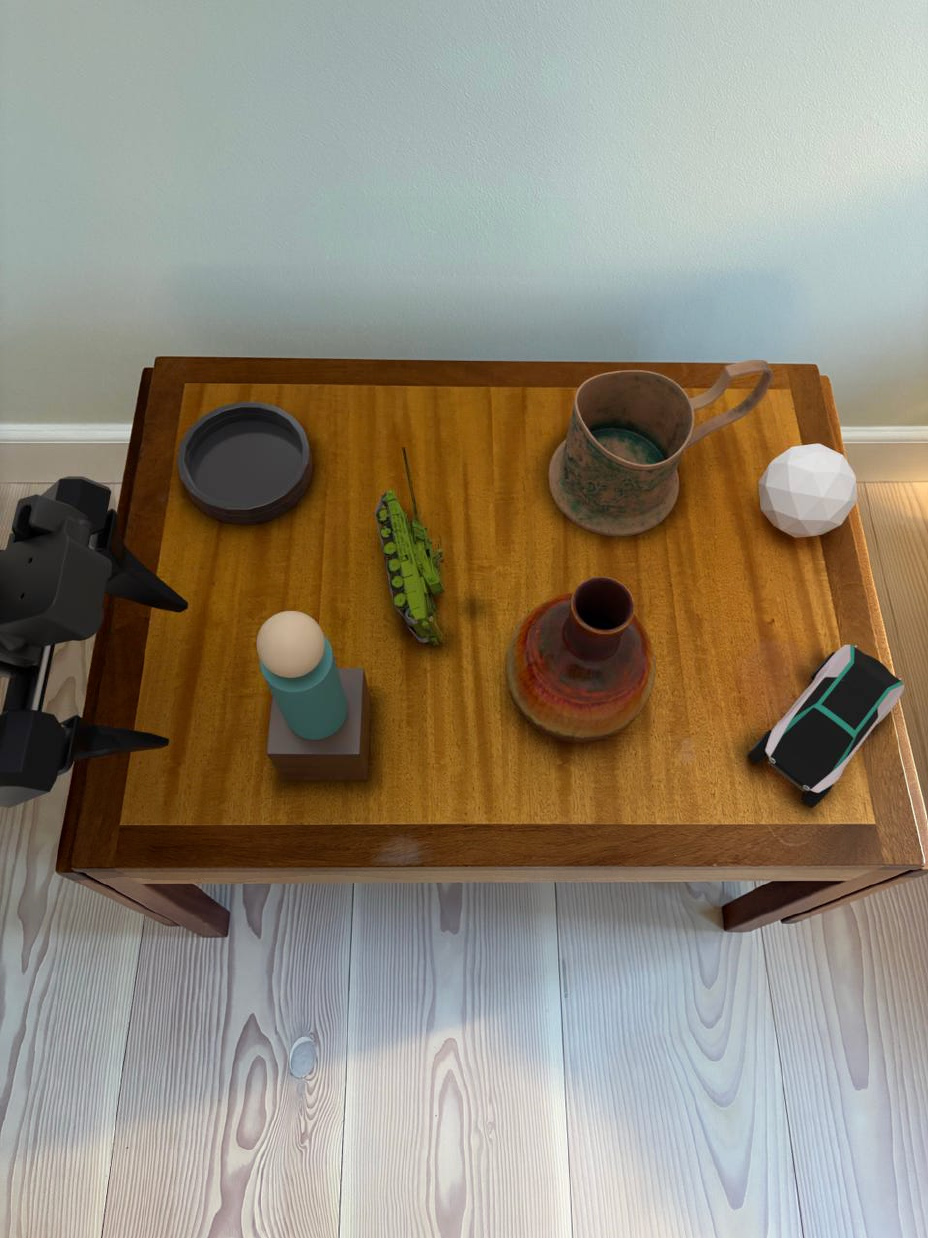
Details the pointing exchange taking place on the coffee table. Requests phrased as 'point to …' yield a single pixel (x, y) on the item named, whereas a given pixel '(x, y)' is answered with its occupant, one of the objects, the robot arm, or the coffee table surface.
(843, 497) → the geometric ball
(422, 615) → the toy tank
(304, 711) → the wooden doll
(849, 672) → the toy car
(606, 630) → the vase
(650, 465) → the mug
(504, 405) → the coffee table surface
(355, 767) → the walnut block
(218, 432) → the round grey tray
